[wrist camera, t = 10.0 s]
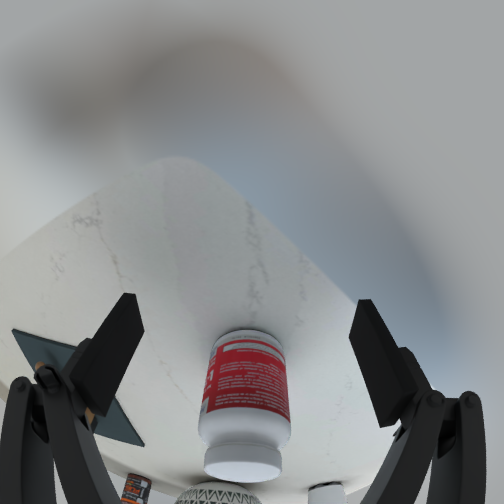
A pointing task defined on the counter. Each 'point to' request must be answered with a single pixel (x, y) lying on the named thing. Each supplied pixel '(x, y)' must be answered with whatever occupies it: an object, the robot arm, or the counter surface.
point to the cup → (327, 494)
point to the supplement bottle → (136, 490)
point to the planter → (217, 494)
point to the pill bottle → (245, 408)
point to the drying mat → (58, 356)
